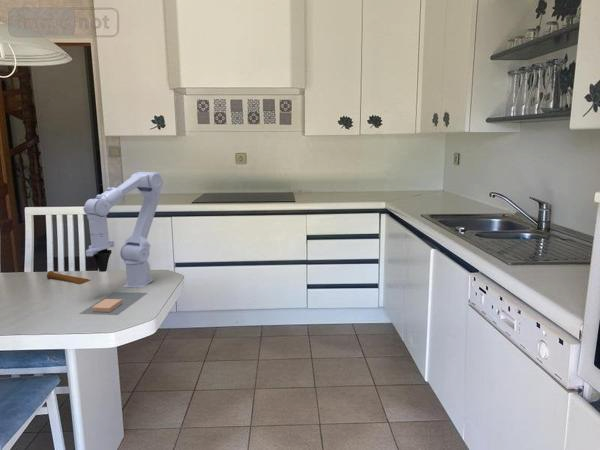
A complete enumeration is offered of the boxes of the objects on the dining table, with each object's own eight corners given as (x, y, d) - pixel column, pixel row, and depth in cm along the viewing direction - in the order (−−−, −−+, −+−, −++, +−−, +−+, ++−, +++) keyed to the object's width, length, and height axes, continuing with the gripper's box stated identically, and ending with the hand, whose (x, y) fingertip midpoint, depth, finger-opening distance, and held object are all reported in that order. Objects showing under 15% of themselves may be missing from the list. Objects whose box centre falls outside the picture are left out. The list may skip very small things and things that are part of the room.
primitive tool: (91, 281, 180) (90, 272, 180) (81, 285, 175) (79, 276, 175) (53, 277, 186) (52, 269, 185) (42, 281, 181) (41, 273, 180)
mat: (114, 293, 164) (113, 292, 164) (147, 294, 162) (147, 292, 162) (79, 314, 144) (79, 313, 144) (117, 316, 142) (117, 314, 142)
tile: (105, 298, 152) (91, 307, 144) (122, 299, 151) (109, 307, 144) (105, 303, 152) (92, 312, 145) (122, 303, 152) (109, 312, 144)
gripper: (100, 229, 164) (103, 265, 166) (75, 237, 150) (79, 277, 152) (118, 229, 163) (121, 265, 165) (95, 237, 149) (99, 277, 151)
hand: (102, 271), depth 159 cm, fingers closed
